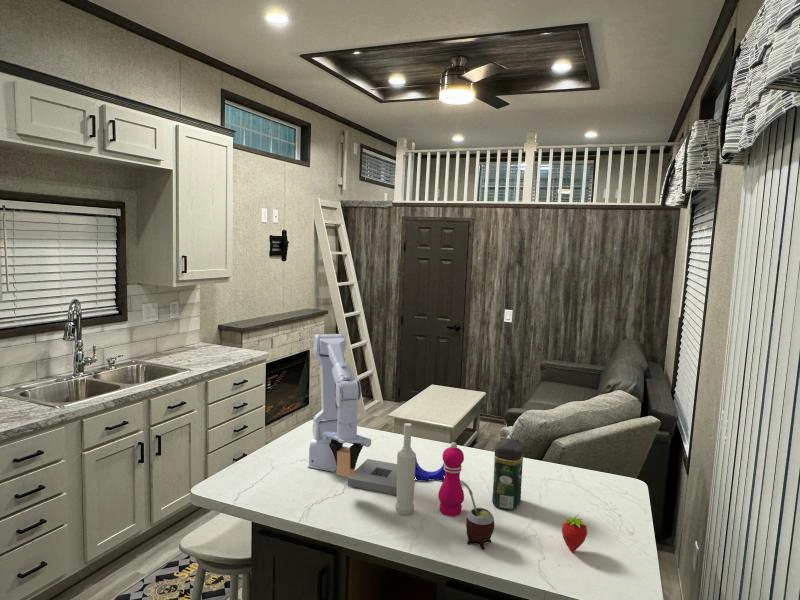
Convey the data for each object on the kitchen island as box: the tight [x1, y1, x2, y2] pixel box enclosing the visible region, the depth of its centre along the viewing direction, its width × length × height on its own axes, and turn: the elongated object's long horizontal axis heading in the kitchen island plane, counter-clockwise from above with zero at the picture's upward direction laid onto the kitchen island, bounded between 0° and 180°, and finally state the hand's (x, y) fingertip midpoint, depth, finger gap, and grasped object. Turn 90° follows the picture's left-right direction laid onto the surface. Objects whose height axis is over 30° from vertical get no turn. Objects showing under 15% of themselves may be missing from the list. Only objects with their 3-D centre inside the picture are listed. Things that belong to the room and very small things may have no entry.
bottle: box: [394, 422, 417, 516], centre depth 150 cm, size 5×5×25 cm
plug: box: [336, 446, 356, 478], centre depth 158 cm, size 4×4×7 cm
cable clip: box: [415, 458, 445, 482], centre depth 172 cm, size 12×4×6 cm, turn 82°
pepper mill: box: [437, 441, 465, 517], centre depth 151 cm, size 7×7×20 cm
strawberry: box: [561, 513, 588, 553], centre depth 134 cm, size 6×8×10 cm
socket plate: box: [346, 458, 397, 496], centre depth 170 cm, size 16×16×2 cm
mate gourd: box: [460, 479, 495, 550], centre depth 136 cm, size 8×8×15 cm
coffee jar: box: [491, 437, 525, 511], centre depth 157 cm, size 10×8×19 cm
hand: (346, 466), depth 158 cm, fingers closed on plug, 4 cm apart
